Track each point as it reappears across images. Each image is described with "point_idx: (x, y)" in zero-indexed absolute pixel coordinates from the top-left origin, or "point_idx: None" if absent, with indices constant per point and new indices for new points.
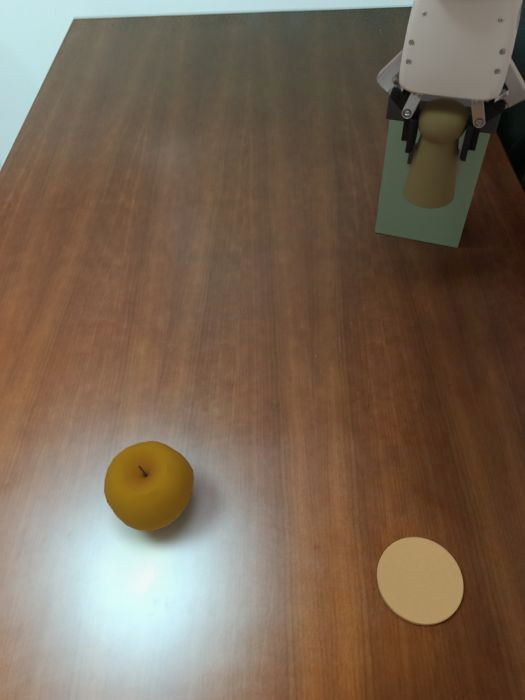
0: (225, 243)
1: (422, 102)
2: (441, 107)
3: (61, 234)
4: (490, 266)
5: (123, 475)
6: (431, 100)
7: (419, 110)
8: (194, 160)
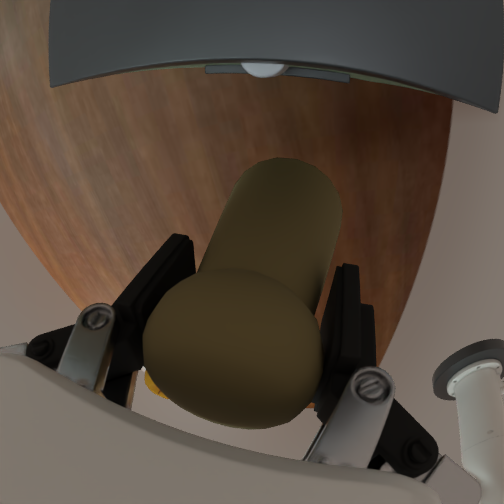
0: (86, 147)
1: (149, 66)
2: (202, 413)
3: (7, 180)
4: (416, 117)
5: (155, 391)
6: (152, 360)
7: (140, 321)
8: (24, 44)
